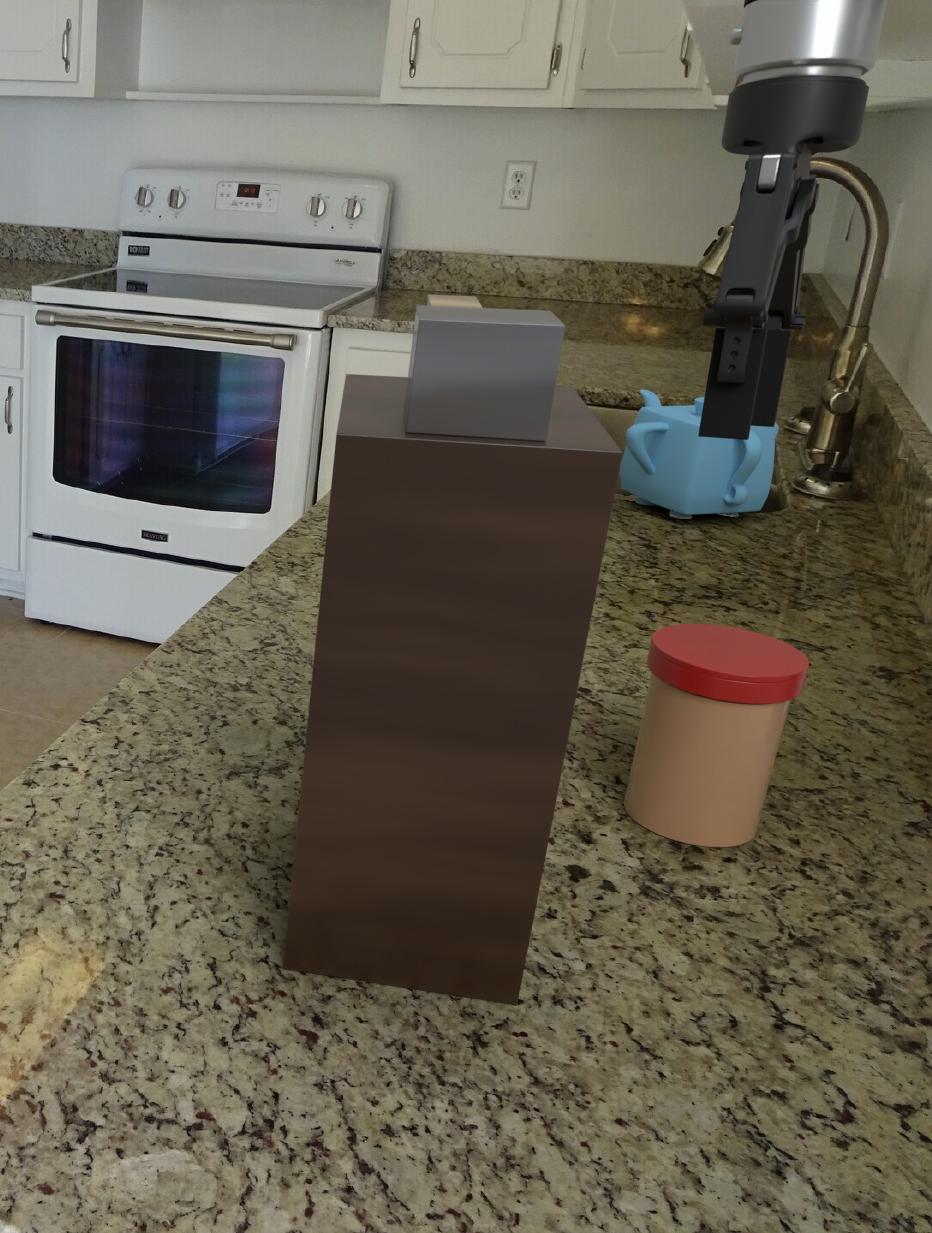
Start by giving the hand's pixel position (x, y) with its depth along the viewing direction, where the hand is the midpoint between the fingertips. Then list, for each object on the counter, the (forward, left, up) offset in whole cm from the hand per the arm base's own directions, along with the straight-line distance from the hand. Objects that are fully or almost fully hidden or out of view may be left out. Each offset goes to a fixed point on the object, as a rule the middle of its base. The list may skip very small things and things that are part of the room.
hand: (738, 432), depth 82 cm
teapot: (-2, -75, -24) cm, 79 cm away
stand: (+15, +28, -24) cm, 40 cm away
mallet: (+16, +21, +5) cm, 27 cm away
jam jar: (-1, +10, -24) cm, 26 cm away
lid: (-1, +10, -12) cm, 15 cm away
